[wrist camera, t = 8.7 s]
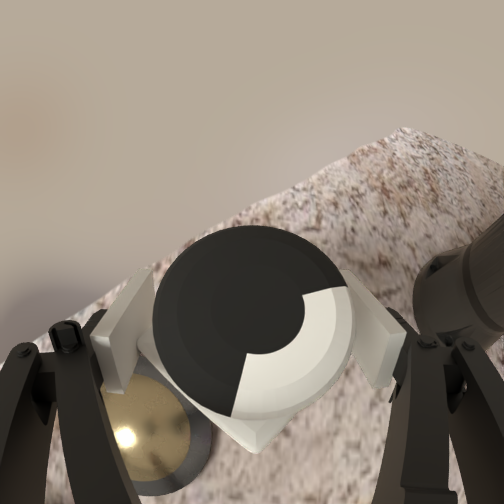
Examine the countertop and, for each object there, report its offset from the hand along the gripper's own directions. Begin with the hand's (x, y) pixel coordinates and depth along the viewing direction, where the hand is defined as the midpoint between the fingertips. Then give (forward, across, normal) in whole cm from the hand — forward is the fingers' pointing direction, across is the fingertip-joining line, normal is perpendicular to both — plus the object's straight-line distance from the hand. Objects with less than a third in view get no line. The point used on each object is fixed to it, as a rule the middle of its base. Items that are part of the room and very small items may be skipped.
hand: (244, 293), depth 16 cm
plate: (+5, -11, -19) cm, 22 cm away
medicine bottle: (+1, 0, -6) cm, 6 cm away
